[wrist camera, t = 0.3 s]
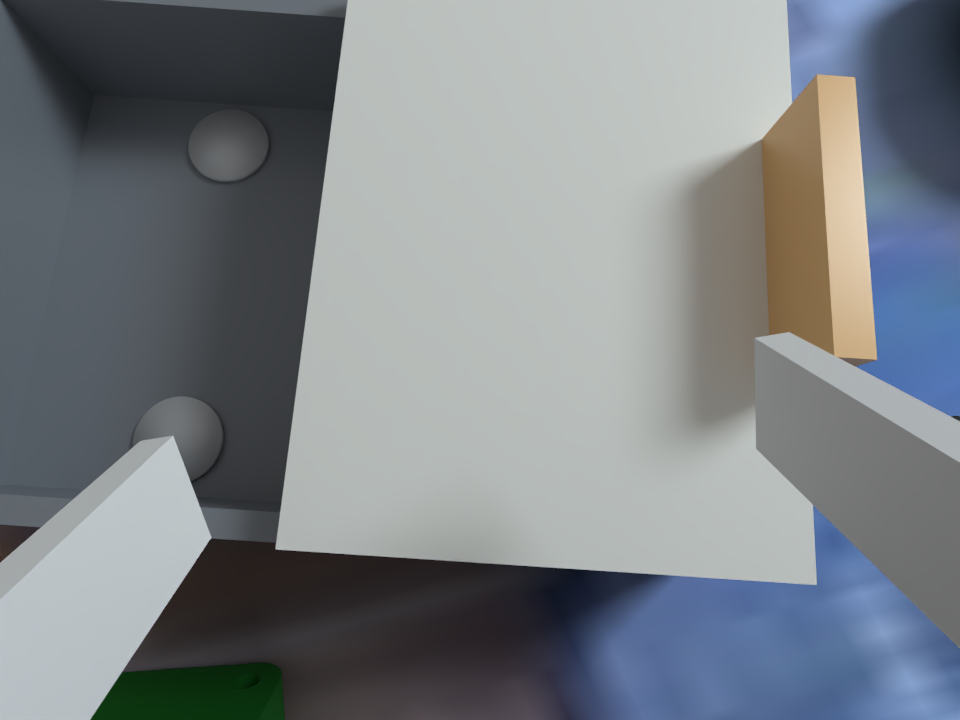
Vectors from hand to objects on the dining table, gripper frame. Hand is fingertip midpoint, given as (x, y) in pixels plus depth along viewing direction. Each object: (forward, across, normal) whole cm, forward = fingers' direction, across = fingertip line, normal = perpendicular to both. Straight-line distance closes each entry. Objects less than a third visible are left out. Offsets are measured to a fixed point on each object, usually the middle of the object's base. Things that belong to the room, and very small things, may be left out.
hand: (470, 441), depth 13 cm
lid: (+10, -4, -2) cm, 11 cm away
